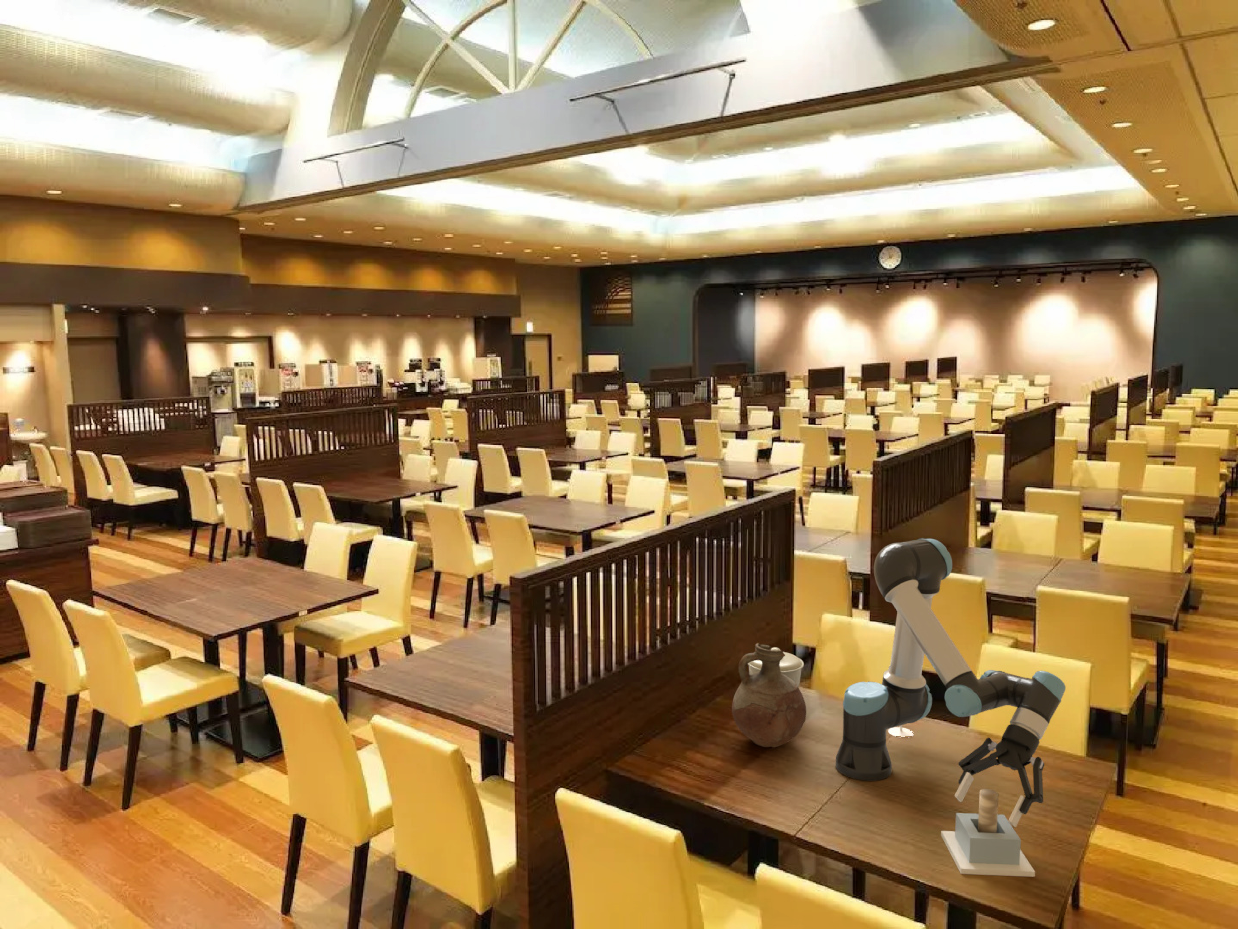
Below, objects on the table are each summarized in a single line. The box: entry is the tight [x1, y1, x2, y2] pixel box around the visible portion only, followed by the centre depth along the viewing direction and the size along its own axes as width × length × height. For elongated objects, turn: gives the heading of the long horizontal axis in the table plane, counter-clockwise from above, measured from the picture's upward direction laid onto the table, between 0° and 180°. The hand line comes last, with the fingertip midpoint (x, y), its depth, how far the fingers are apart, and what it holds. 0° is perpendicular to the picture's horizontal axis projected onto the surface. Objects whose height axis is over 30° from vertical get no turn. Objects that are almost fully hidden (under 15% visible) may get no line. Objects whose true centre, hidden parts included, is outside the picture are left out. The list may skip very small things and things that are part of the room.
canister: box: [747, 646, 805, 687], centre depth 291 cm, size 18×18×21 cm
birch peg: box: [978, 788, 999, 833], centre depth 208 cm, size 4×4×14 cm
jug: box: [731, 642, 807, 748], centre depth 267 cm, size 22×22×30 cm
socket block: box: [940, 812, 1036, 877], centre depth 209 cm, size 16×16×7 cm
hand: (984, 811), depth 207 cm, fingers open, 13 cm apart
